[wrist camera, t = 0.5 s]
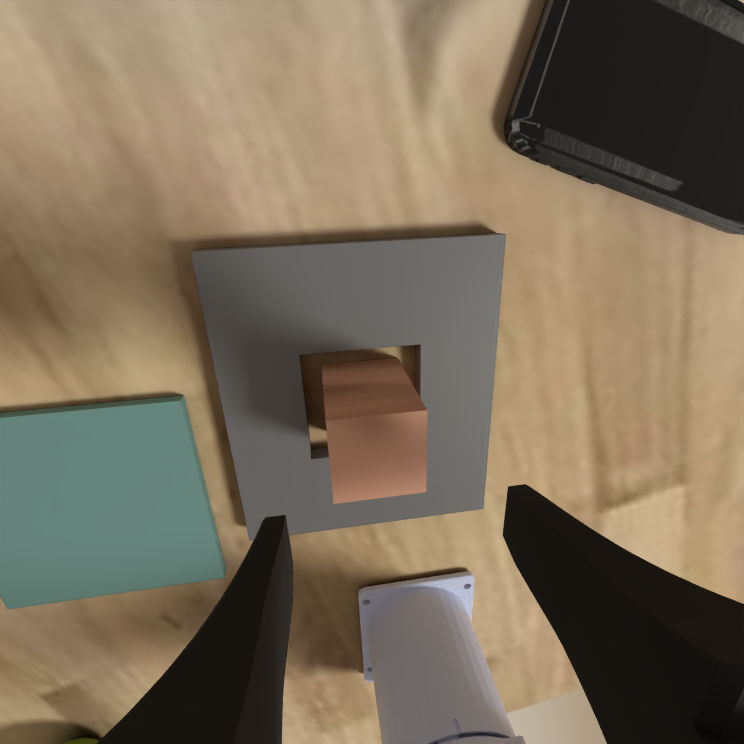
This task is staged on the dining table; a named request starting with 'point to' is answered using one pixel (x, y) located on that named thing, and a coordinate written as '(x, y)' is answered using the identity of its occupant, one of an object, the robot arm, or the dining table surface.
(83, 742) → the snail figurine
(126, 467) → the teal mat
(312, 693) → the dining table surface
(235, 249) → the charcoal pocket board
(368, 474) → the terracotta block
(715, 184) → the phone
